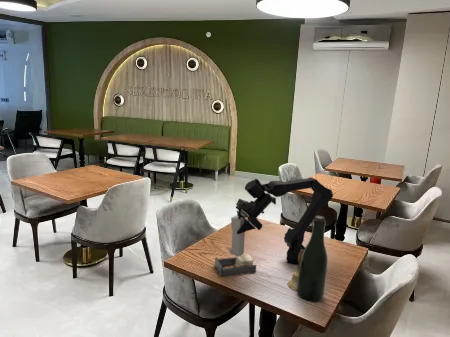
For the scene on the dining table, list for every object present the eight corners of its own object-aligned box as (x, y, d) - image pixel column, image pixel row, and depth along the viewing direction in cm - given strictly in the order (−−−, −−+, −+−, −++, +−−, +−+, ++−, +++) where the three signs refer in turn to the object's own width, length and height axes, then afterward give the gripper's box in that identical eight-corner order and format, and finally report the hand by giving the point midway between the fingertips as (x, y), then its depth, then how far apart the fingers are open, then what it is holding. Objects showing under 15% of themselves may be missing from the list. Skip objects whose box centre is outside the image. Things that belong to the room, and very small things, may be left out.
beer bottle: (303, 284, 138) (312, 209, 130) (327, 294, 132) (339, 216, 124) (291, 295, 130) (301, 216, 122) (317, 307, 124) (328, 225, 116)
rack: (248, 261, 155) (248, 253, 154) (255, 272, 147) (256, 263, 146) (214, 265, 150) (215, 257, 149) (220, 276, 142) (221, 268, 141)
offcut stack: (247, 263, 154) (248, 254, 153) (253, 270, 148) (254, 260, 147) (235, 265, 152) (235, 255, 150) (240, 272, 146) (241, 262, 145)
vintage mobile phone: (234, 250, 150) (237, 197, 145) (243, 254, 147) (246, 200, 142) (229, 253, 147) (231, 199, 142) (238, 257, 144) (241, 201, 139)
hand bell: (302, 279, 142) (306, 244, 139) (311, 290, 134) (315, 254, 131) (284, 280, 141) (287, 245, 137) (292, 292, 133) (295, 255, 129)
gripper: (240, 186, 151) (216, 211, 150) (256, 199, 133) (229, 228, 132) (255, 202, 155) (232, 226, 154) (273, 216, 137) (247, 244, 137)
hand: (234, 230), depth 144 cm, fingers closed on vintage mobile phone, 6 cm apart
